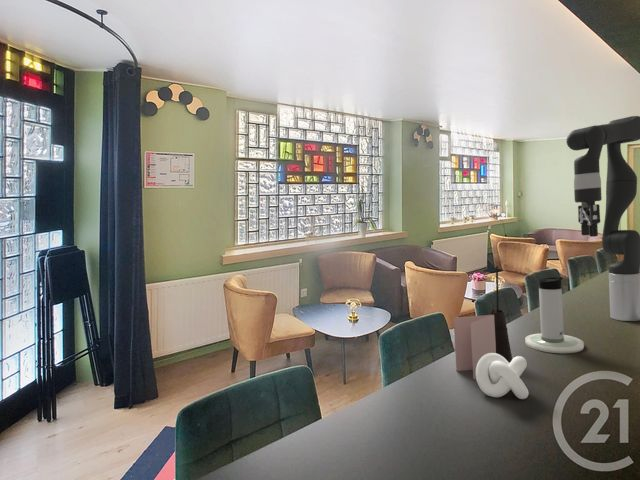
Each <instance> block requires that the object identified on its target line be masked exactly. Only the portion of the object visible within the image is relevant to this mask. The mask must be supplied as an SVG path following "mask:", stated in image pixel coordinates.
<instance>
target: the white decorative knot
mask: <svg viewBox="0 0 640 480" xmlns="http://www.w3.org/2000/svg"><path fill="white" fill-rule="evenodd" d="M527 364H528V363H527V360H526V359H525V357H523V356H521V355H517V356H515V357H512V361H511V362H508V361H507V360H506V359H505V358H504V357H503V356H501V355H499V354H497V353H488V354H485V355H484V356H482V357H481V358H480V360H479V361H478V363H477V367H476V379H475V380H476V383H477V385H478V387H479V388H480V390H481V391H482V392H483V393H484V394H485V395H487V396H489V397H492V398H501V397H503V396H505V395H507V394H508V393H509V392H510V391H512V393H513V394H514V396H515V397H516V398H518V399H520V400H525V399H527V398H528V396H529V389H528V388H527V386H526V385H525V383H524V381H523V380H522V379H521V378H520V377H521V376H522V374H523V373H524V372H525V370H526V368H527V366H528V365H527Z"/></svg>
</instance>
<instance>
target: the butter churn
mask: <svg viewBox="0 0 640 480" xmlns="http://www.w3.org/2000/svg"><path fill="white" fill-rule="evenodd" d="M498 267H499V266H497V265H496V266H495V286H496V291H495V292H496V307H492V308H491V309H490V311H489V315H494V323H495V342H496V353H497V354H499V355H501V356H503V357H504V358H505V359H506V360H507V361H508V362H509V363H510V362H511V361H512V359H513V357H512V349H511V345H510V344H511V343H510V337H509V333H508V327H507V321H506V314H505V310H502V309H499V270H498V269H499V268H498Z"/></svg>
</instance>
